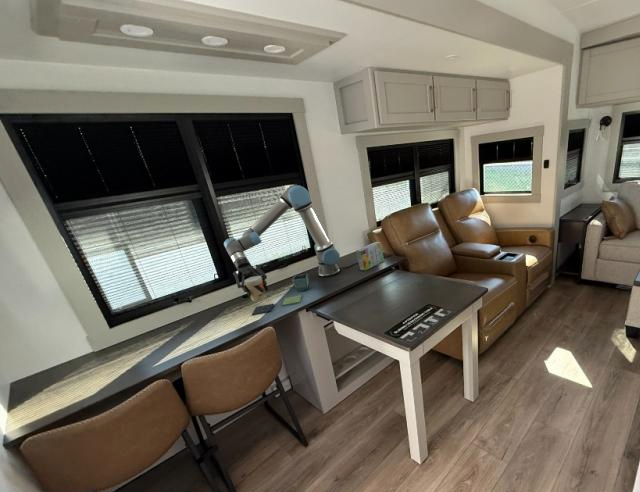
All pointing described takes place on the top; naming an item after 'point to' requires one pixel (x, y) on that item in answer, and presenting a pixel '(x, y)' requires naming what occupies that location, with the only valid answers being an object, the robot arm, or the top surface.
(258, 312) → the slate mat
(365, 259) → the snack box
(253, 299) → the coffee cup
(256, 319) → the top surface
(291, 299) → the sage mat
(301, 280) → the flower pot
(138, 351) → the top surface
